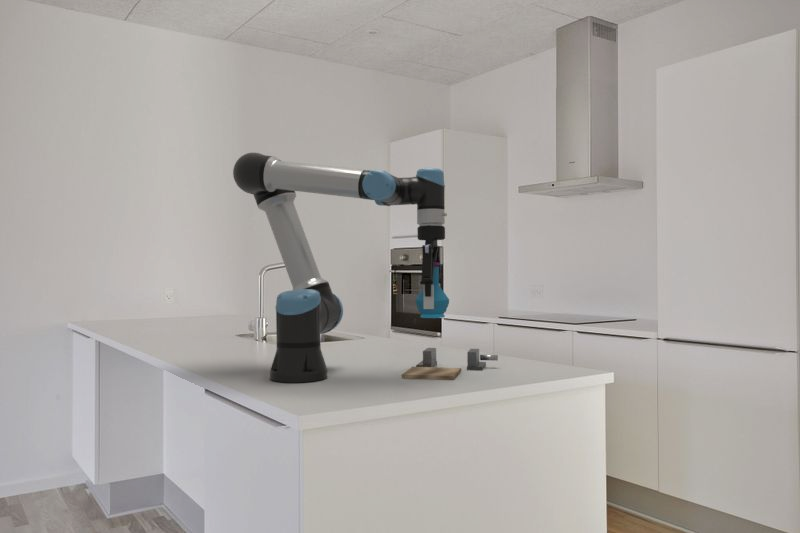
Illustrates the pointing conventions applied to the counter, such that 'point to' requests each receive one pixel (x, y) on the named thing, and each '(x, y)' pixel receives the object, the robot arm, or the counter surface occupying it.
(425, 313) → the blue vase
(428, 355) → the vise
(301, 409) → the counter surface
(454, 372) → the pad
